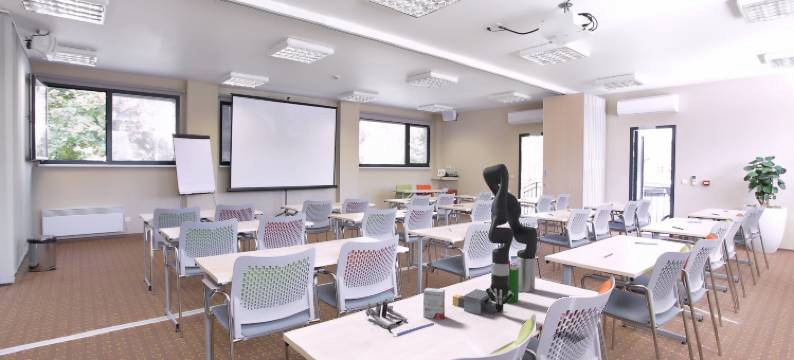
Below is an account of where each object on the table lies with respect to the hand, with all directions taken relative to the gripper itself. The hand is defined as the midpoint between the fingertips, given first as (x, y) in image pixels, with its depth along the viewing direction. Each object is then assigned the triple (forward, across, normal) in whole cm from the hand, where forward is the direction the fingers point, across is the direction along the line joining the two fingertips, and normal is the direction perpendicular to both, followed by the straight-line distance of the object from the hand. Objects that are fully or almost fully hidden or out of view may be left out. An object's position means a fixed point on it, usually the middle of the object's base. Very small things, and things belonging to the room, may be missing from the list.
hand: (499, 311), depth 178 cm
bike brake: (+2, +33, +36) cm, 49 cm away
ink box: (+1, +21, +20) cm, 29 cm away
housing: (+1, +10, 0) cm, 10 cm away
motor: (+1, +4, -20) cm, 21 cm away
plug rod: (+1, +12, 0) cm, 12 cm away
